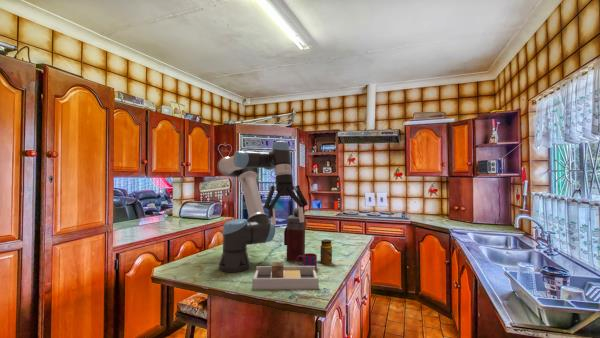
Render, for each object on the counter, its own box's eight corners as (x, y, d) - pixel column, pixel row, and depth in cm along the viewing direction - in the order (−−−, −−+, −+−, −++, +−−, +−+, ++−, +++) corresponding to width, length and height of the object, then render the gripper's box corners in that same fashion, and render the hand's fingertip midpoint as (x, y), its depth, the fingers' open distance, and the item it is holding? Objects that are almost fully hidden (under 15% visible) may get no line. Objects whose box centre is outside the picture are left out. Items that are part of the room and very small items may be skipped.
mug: (315, 271, 133) (315, 257, 133) (295, 269, 136) (295, 255, 136) (317, 267, 140) (318, 253, 140) (298, 265, 142) (299, 252, 142)
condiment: (334, 264, 144) (334, 241, 144) (318, 266, 142) (319, 242, 142) (329, 260, 151) (329, 238, 151) (314, 261, 149) (315, 239, 149)
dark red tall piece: (285, 255, 159) (285, 206, 159) (304, 256, 157) (305, 207, 158) (282, 260, 150) (282, 208, 150) (302, 261, 148) (303, 209, 149)
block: (271, 277, 118) (271, 265, 118) (272, 273, 123) (272, 262, 123) (283, 277, 118) (283, 265, 118) (283, 273, 123) (283, 262, 123)
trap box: (252, 289, 112) (252, 279, 112) (256, 274, 128) (256, 266, 128) (318, 288, 113) (318, 278, 114) (314, 274, 129) (314, 265, 129)
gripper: (260, 173, 114) (264, 225, 109) (311, 173, 126) (317, 220, 122) (254, 177, 120) (257, 226, 116) (303, 177, 133) (308, 221, 128)
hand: (288, 223), depth 119 cm, fingers open, 13 cm apart
